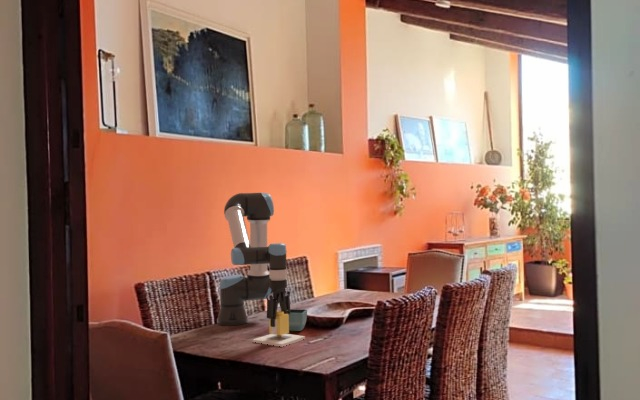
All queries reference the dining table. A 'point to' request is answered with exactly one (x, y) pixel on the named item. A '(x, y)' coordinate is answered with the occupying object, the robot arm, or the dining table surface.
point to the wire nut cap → (281, 323)
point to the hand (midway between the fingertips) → (279, 332)
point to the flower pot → (297, 319)
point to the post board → (279, 339)
